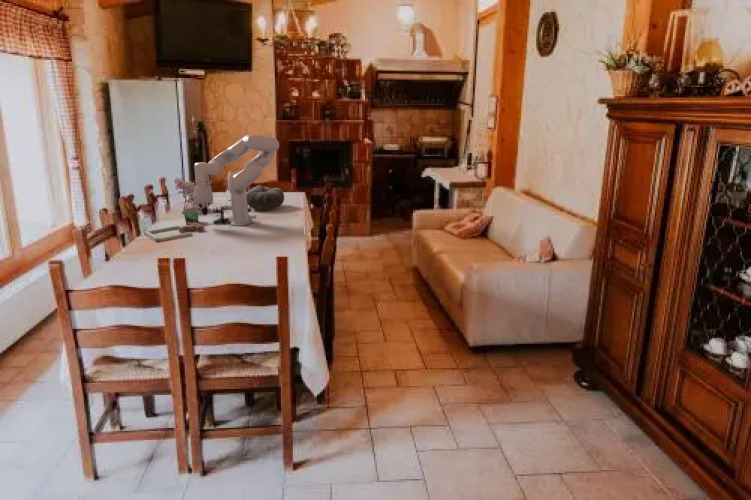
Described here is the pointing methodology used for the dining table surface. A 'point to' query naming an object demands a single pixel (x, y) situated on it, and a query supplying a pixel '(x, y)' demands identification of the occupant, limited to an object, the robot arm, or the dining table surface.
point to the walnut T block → (191, 228)
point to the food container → (191, 214)
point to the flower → (189, 191)
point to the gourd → (265, 198)
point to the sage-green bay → (166, 236)
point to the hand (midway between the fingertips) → (205, 214)
